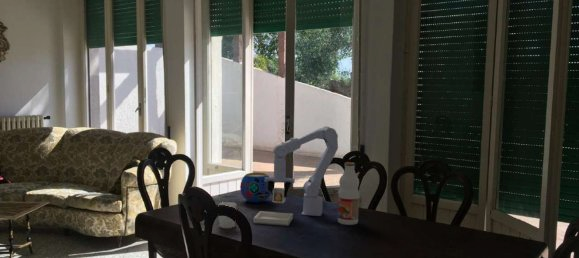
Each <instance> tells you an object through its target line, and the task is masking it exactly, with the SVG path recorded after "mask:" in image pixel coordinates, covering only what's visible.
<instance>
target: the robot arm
mask: <svg viewBox="0 0 579 258" xmlns="http://www.w3.org/2000/svg"><path fill="white" fill-rule="evenodd" d="M338 138H339V135H338V133H337V131H336V129H335V128H333V127H330V126H323V127H322V128H317V129H315V130H313V131H311V132H309V133H308V134H305V135H303V136H301V137H299V138H298V137H290V138H289V140H286V141H284V142H281V144H277V145H275V146H274V147H273V155H274V158H273V159H274V160H273V177H272V176H269V177H265V182H268V186H269V188H270V190H271V197H273V189H274V188H275V183H284V188H285V195H284V197H285V198H286V199H287V197H288V196H287V195H288V191H289V189H290V186H291V185H292V184H295V178H291V177H286V175H287V174H286V171H287V170H286V165H287V159H286V156H287V155H288V154H290V153H293V152H295V151H297V150H299V149H300V148H301V147H302V145H304V144H307V143H309V142H312V141H314V140H317V139H318V140H323V141H324V143H325V145H326V148H325V150H324V152H323V154H322V157H320V159H319V162H318V163H317V165H316V168H315V169H314V171H313V173H312V175H311V176H310V177H309V178H308V180H307V181H306V182H304V184H303V187H302V188H303V190H304V194H303V209H302V210H303V211H302V212H301V215H303V216H314V217H322V214H323V200H324V199H323V196H320V195H319V193H320V188H321V184H322V180H323V179H324V176H325V175H326V173H327V170H328V168H329V166H330V164H331V162H332V161H333V159H334V157H335V155H336V153H337V151H338V149H339V141H338Z"/></svg>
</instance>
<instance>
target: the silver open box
mask: <svg viewBox="0 0 579 258" xmlns="http://www.w3.org/2000/svg"><path fill="white" fill-rule="evenodd" d="M276 195H280V196H281V200H280V201H276V200H275V196H276ZM284 195H285V187H274V189H273V197H272V196H271V197H272V199H271V200H272V203H280V204H284V203H285V202H286V201H287V197H286V198H285V197H284Z"/></svg>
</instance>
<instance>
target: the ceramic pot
mask: <svg viewBox="0 0 579 258" xmlns="http://www.w3.org/2000/svg"><path fill="white" fill-rule="evenodd" d="M265 177H270V176H269V175H268V174H267V173H263V172H250V173H246V174H245V175H243V177H242V179H241V181H240V185H239V187H240V189H239V190H240V194H241V195H242V198H244V200H246V201H248V202H251V203H262V202H265V201H266V200H268V199H269V198H270V197H271V196H272V194H271V190H270V188H269V186H268V182H265Z"/></svg>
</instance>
